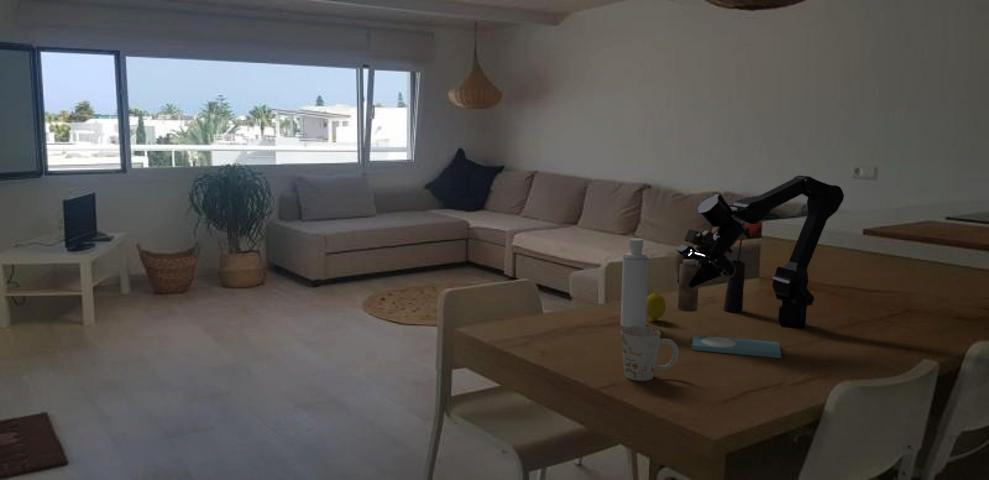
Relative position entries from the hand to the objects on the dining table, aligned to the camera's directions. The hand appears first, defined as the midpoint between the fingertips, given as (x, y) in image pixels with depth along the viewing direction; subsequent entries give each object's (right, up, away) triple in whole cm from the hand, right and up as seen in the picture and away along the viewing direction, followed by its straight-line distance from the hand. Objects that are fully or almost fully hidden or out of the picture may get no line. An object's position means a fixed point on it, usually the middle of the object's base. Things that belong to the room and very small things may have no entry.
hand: (684, 284), depth 191 cm
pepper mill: (+1, -6, +2) cm, 7 cm away
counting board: (+10, -15, -9) cm, 20 cm away
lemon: (-4, -11, +16) cm, 20 cm away
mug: (-15, -18, -29) cm, 38 cm away
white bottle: (-11, -12, +11) cm, 19 cm away
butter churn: (+20, -10, +27) cm, 35 cm away
